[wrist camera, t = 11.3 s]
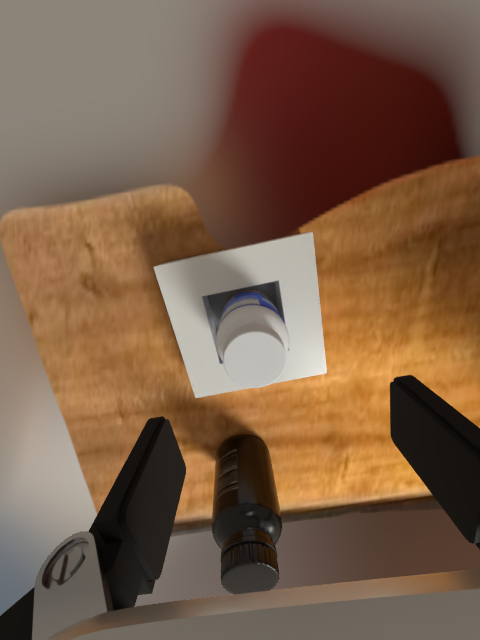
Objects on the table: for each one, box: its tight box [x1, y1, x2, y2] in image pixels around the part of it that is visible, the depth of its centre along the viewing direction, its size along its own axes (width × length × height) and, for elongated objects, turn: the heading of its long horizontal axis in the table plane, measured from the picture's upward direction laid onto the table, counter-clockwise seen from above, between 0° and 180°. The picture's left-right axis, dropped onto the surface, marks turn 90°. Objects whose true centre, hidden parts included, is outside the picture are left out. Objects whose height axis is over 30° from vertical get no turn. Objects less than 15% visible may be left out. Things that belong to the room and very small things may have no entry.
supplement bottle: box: [212, 435, 282, 594], centre depth 25 cm, size 7×7×12 cm
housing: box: [154, 232, 327, 398], centre depth 23 cm, size 13×13×4 cm
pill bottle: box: [216, 290, 289, 388], centre depth 19 cm, size 5×5×10 cm
